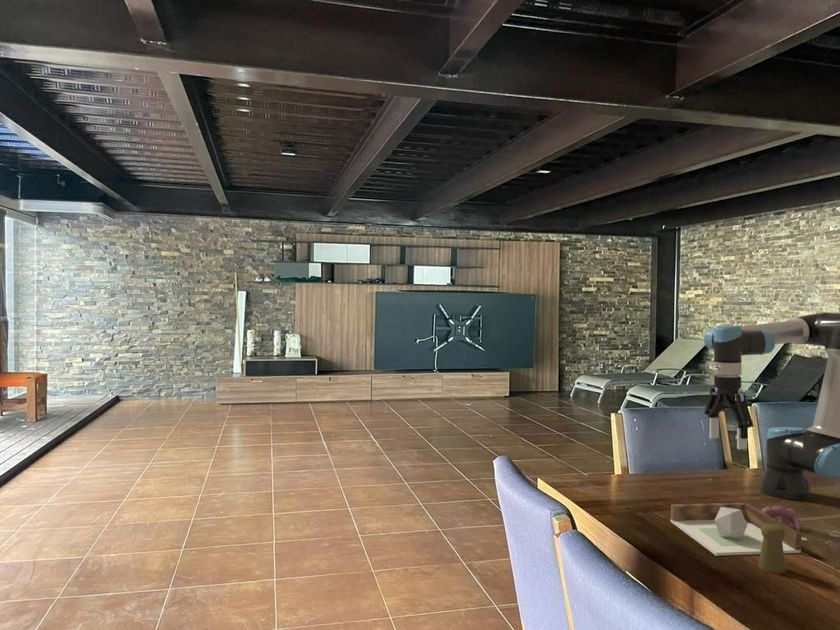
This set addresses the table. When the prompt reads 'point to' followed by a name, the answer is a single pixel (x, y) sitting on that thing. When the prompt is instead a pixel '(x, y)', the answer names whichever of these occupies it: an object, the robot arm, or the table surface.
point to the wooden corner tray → (703, 530)
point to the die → (730, 523)
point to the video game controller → (783, 515)
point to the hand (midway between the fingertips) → (727, 443)
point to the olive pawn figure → (772, 549)
